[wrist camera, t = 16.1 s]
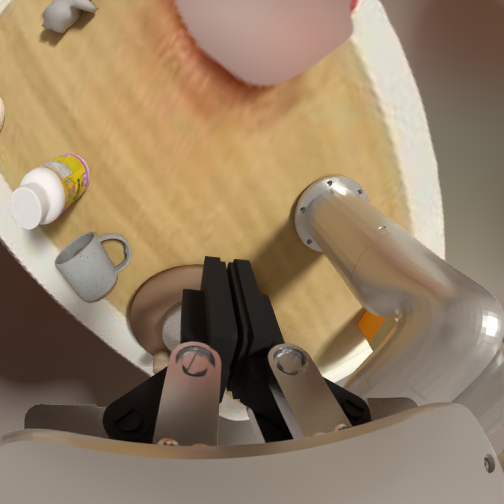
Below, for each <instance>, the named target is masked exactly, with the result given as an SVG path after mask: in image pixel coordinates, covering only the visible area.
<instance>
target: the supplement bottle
mask: <svg viewBox="0 0 504 504" xmlns="http://www.w3.org/2000/svg"><path fill="white" fill-rule="evenodd" d="M89 180H90V173H89V168H88V166H87V164H86V162H85V161H84V160H83V159H82V158H81V157H80V156H78V155H76V154H64V155H62V156H59V157H57V158H55V159H53V160H51V161H49V162H47V163H45V164H43V165H41V166H39V167H37V168H35V169H33V170H31V171H30V172H28V173H27V174H26V175H25V177H24V178H23V179H22V181H21V184H20V187H19V188H17V189H16V190H15V191H14V192H13V194H12V196H11V199H10V212H11V215H12V218H13V219H14V221H15V222H16V223H17V225H19V226H20V227H21V228H23V229H27V230H30V229H34V228H35V227H37V226H38V225H39V224H40V225H45V224H49V223H51V222H53V221H54V220H55V219H57V218H58V217H59V216H60V215H61V214H62V213H63V212H64V211H65V210H66V209H67V208H68V207H69V206H70V205H71V204H72V203H74V202H75V201H76V200H77V199H78V198H79V197H80V196H81V195H82V194H83V193H84V192H85V191H86V189H87V187H88V184H89Z"/></svg>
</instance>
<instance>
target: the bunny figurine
mask: <svg viewBox="0 0 504 504" xmlns="http://www.w3.org/2000/svg"><path fill="white" fill-rule="evenodd" d="M81 9H82V10H85V11H88V12H92V13H95V12H96V11H97V10H98V8H97V7H96V6H95V4H94V3H93V2H91V1H90V0H54V2H53V3H51V4H50V5H49V6H48V7H47V9H46V10H45V13H44V23H43V25H42V27H45V28H48V29H51V30H53V31H55V32H58V33H64V32H65V30H66V29H68V28H69V27H71V26H72V25H73V24H74V23H76V21H77V20H78V18H79V17H80V15H81Z"/></svg>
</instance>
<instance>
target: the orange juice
mask: <svg viewBox="0 0 504 504" xmlns="http://www.w3.org/2000/svg"><path fill="white" fill-rule="evenodd" d="M397 322H398V318H386V317H381V316H377V315H374V314H372V313H370V312H369V311H367V310H366V311H365V313H364V314H363V316H362V318H361V319H360V321H359V322H358V324H357V325H358V326H359V328H360V330H361V331H362V333H363V335H364V336H365V338H366V340H367V341H368V343H369V345H370V347H371V348H372V350H373V351H374V350H375V349H376V348H377V347H378V346H379V345H380V344H381V342H382V341H383V340H384V339H385V338H386V337H387V335H388V334H389V333H390V331H391V330H392V329H393V328H394V326H395V325H396V323H397Z"/></svg>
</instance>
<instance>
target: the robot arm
mask: <svg viewBox="0 0 504 504" xmlns="http://www.w3.org/2000/svg"><path fill="white" fill-rule="evenodd" d="M328 181H329V182H328ZM327 182H328V183H327ZM301 208H302V209H301ZM294 224H295V229H296V232H297V234H298V236H299V237H300V239H301V240H302V242H303V243H304V244H305V245H306V246H308V247H309V248H311V249H312V250H315V251H318V252H323V253H324V254H325V255H326V257H327V258H328V260H329V261H330V262H331V264H332V265H333V266H334V268H335V269H336V271H337V272H338V273H339V275H340V276H341V278H342V279H343V280H344V282H345V283H346V285H347V286H348V287H349V289H350V290H351V292H352V293H353V295H354V296H355V297H356V299H357V300H358V301H359V303H360V304H361V305H362V306H363V307H364V308H365V309H366V310H367V311H369V312H370V313H372V314H374V315H377V316H381V317H386V318H398V322H397V323H396V325H395V326H394V328H393V329H392V330H391V331H390V333H389V334H388V335H387V337H386V338H385V339H384V340H383V341H382V342H381V344H380V345H379V346H378V347H377V348H376V349H375V350H374V351H373V352H372V353H371V354H370V355H369V356H368V357H367V358H366V360H365V361H364V362H363V363H362V364H361V365H360V366H359V367H358V368H357V369H356V370H355V371H354V372H353V373H352V375H351V376H350V377H349V378H348V380H347V381H346V383H345V385H344V387H343V388H342V387H340V386H338V385H336V384H335V383H333V382H331V381H329V380H328V379H326V378H324V377H322V375H321V373H320V372H319V370H318V368H317V367H316V365H315V363H314V362H313V360H312V358H311V357H310V355H309V354H308V353H307V352H306V351H305V350H303V349H302V348H300V347H298V346H296V345H292V344H285V343H284V340H283V337H282V334H281V331H280V328H279V325H278V323H277V320H276V317H275V314H274V311H273V308H272V305H271V302H270V300H269V297H268V296H267V295H263V294H260V293H259V290H258V287H257V284H256V280H255V277H254V274H253V271H252V268H251V264H250V262H249V260H239V259H234V261H233V263H231V262H229V263H228V267H227V270H226V264H225V262H221V261H220V258H219V257H209V256H205V260H204V266H203V273H202V280H201V287H200V290H194V289H183V293H182V305H181V324H180V345H178V346H177V347H176V348H175V349H174V350H173V351H172V353H171V355H170V359H169V364H168V366H167V367H165V368H164V369H162V370H161V371H159V372H158V373H156V374H155V375H154V376H152V377H151V378H149V379H148V380H146V381H145V382H143V383H142V384H140V385H139V386H137V387H136V388H134V389H133V390H131V391H130V392H128V393H127V394H125V395H124V396H122V397H120V398H119V399H117V400H116V401H114V402H113V403H112V404H111V405H109V406H108V407H96V405H52V404H50V405H49V404H38V405H34V406H32V407H31V408H30V409H29V410H28V411H27V413H26V415H25V419H24V429H20V430H14V431H10V432H6V433H3V434H1V435H0V504H504V450H502V451H501V452H500V453H499V454H498V455H497V456H496V454H495V452H494V450H493V448H492V446H491V444H490V442H489V440H488V438H487V436H488V435H490V434H491V433H492V432H493V431H495V430H496V429H498V428H499V427H500V426H502V425H503V426H504V312H503V309H502V307H501V305H500V303H499V302H498V301H497V299H496V298H495V297H494V296H493V295H492V294H491V293H490V292H489V291H488V290H487V289H485V288H484V287H483V286H482V285H480V284H479V283H477V282H476V281H474V280H473V279H471V278H469V277H468V276H466V275H465V274H463V273H462V272H460V271H458V270H457V269H455V268H454V267H453V266H451V265H450V264H448V263H447V262H446V261H444V260H443V259H441V258H440V257H439V256H437V255H436V254H435V253H434V252H432V251H431V250H430V249H428V248H427V247H426V246H425V245H423V244H422V243H421V242H420V241H418V240H417V239H416V238H415V237H413V236H412V235H411V234H410V233H408V232H407V231H406V230H405V229H403V228H402V227H401V226H400V225H398V224H397V223H396V222H394V221H393V220H392V219H390V218H389V217H388V216H386V215H385V214H384V213H382V212H381V211H380V210H378V209H377V208H376V207H374V206H373V205H371V204H370V203H369V200H368V197H367V194H366V192H365V190H364V189H363V188H362V186H361V185H360V184H359V183H357V182H356V181H355V180H353V179H351V178H349V177H346V176H343V175H331V176H326V177H323V178H321V179H319V180H317V181H315V182H314V183H313V184H311V185H310V186H309V187H308V188H307V189H306V190H305V191H304V192H303V194H302V195H301V197H300V199H299V200H298V203H297V206H296V208H295V214H294ZM225 388H227V391H232V395H233V399H240V402H241V403H243V404H244V405H246V410H247V414H248V417H249V419H250V422H251V424H252V427H253V429H254V432H255V434H256V437H257V439H258V442H259V444H249V445H235V446H217V440H218V439H217V437H218V418H219V404H220V403H221V402H222V398H223V395H224V391H225Z"/></svg>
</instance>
